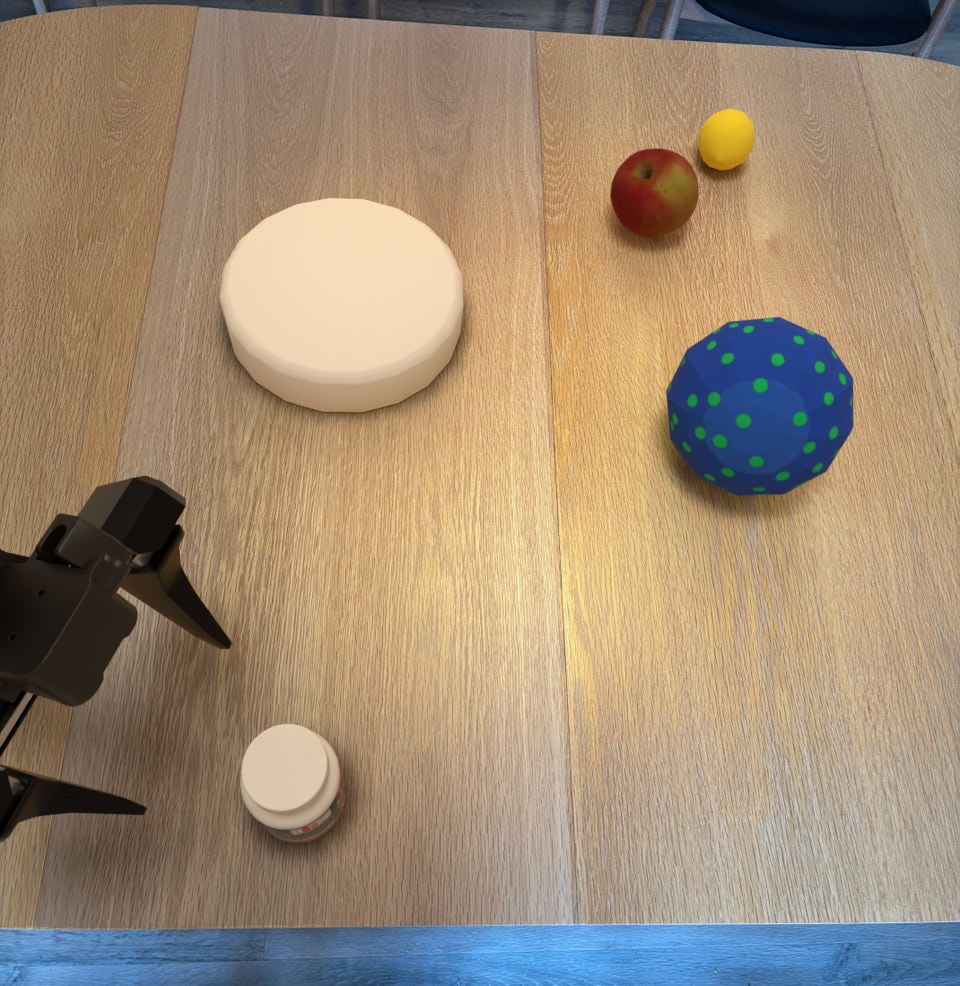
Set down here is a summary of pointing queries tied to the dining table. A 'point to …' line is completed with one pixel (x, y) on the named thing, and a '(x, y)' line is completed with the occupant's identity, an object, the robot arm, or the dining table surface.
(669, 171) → the apple
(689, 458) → the green-spotted blue ball
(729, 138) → the lemon
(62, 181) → the dining table surface
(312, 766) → the pill bottle
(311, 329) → the container
